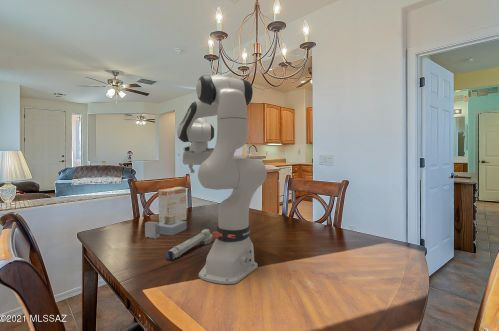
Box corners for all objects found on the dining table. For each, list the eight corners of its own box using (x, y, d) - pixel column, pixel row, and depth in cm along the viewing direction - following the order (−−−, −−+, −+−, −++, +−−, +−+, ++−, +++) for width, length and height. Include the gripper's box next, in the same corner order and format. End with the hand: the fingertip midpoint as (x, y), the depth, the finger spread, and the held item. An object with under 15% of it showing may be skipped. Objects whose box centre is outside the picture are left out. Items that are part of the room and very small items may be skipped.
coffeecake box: (179, 217, 166) (178, 186, 165) (187, 219, 162) (186, 187, 160) (158, 223, 154) (157, 189, 153) (166, 225, 150) (165, 190, 148)
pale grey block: (155, 238, 127) (155, 224, 127) (145, 237, 129) (144, 222, 129) (159, 236, 130) (159, 222, 130) (149, 235, 132) (149, 221, 132)
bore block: (172, 235, 132) (172, 227, 131) (152, 232, 136) (152, 225, 135) (186, 228, 143) (186, 221, 142) (167, 226, 147) (167, 219, 147)
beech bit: (175, 230, 140) (175, 215, 140) (170, 232, 137) (170, 216, 136) (169, 229, 142) (169, 214, 141) (164, 231, 138) (164, 216, 138)
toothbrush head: (164, 249, 103) (204, 225, 125) (166, 265, 105) (206, 238, 126) (174, 252, 101) (213, 226, 122) (176, 268, 102) (215, 240, 124)
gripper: (219, 148, 147) (219, 173, 148) (187, 148, 154) (187, 172, 155) (213, 148, 141) (213, 174, 142) (180, 148, 148) (181, 173, 149)
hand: (199, 173), depth 148 cm, fingers open, 8 cm apart
